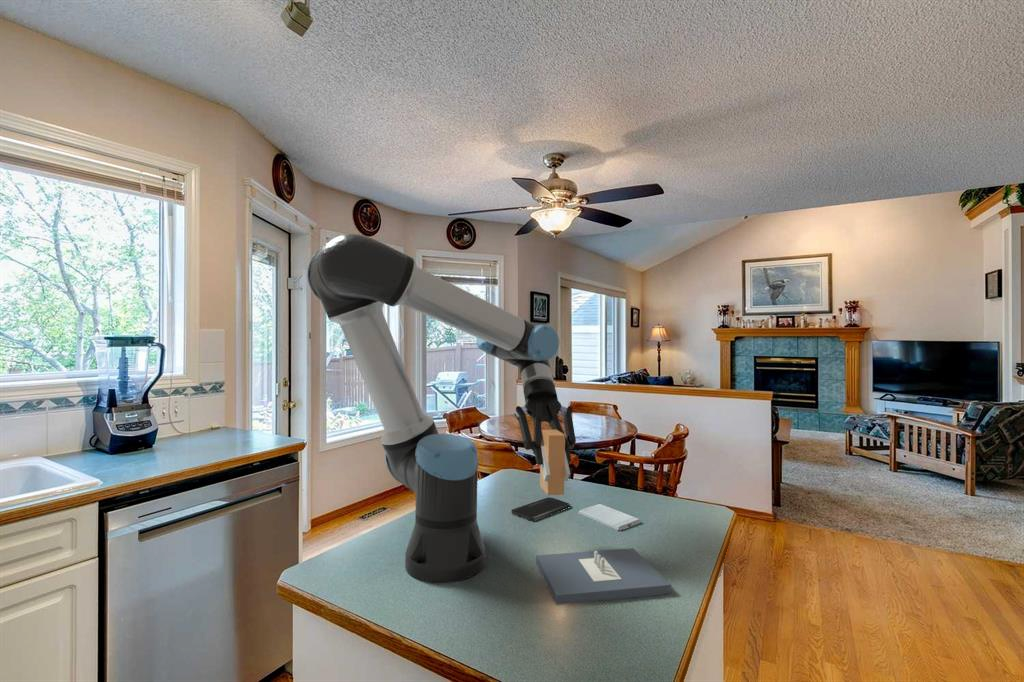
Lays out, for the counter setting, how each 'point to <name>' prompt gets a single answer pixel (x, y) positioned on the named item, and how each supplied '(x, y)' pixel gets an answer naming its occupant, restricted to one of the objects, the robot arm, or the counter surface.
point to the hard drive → (609, 516)
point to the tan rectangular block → (553, 461)
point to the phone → (540, 509)
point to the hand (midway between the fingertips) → (557, 477)
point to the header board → (600, 576)
